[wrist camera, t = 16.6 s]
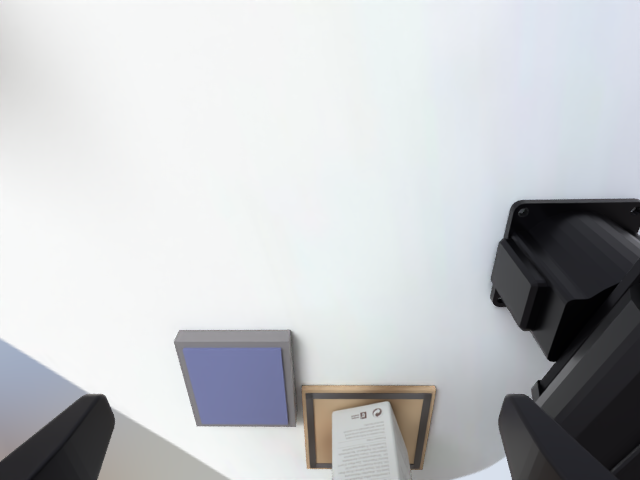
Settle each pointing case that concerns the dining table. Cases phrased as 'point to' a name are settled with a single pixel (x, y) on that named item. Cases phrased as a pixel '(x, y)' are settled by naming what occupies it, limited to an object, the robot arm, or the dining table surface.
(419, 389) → the marked board
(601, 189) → the dining table surface
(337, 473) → the skincare box
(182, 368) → the ink pad
